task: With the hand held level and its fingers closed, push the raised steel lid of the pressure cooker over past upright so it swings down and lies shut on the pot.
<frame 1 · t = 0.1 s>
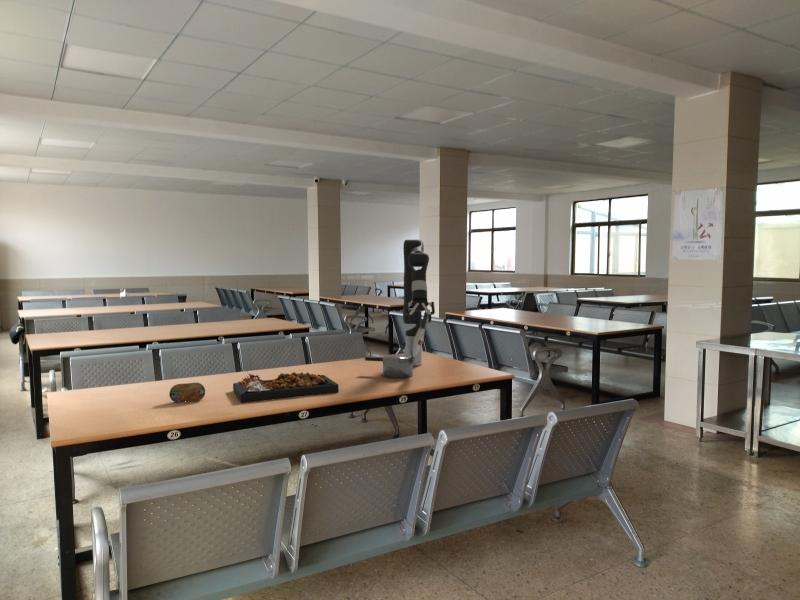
hand: (420, 322, 280), 31 cm above the table, fingers open, 8 cm apart
food platter: (285, 393, 274), on the table
cooker pot: (397, 375, 309), on the table
tin: (188, 402, 258), on the table
cooker lid: (421, 334, 303), point 23 cm above the table, hinge at 105.0°
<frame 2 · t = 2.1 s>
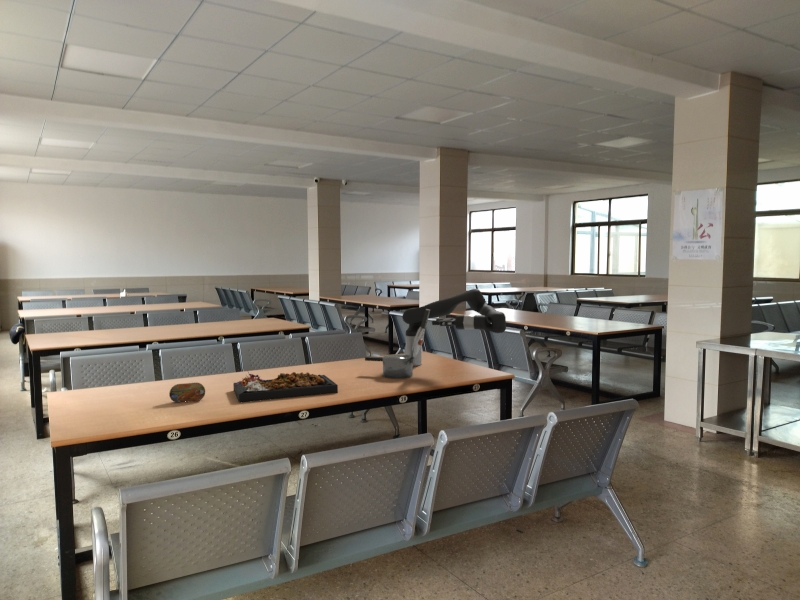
hand: (434, 321, 294), 30 cm above the table, fingers open, 8 cm apart
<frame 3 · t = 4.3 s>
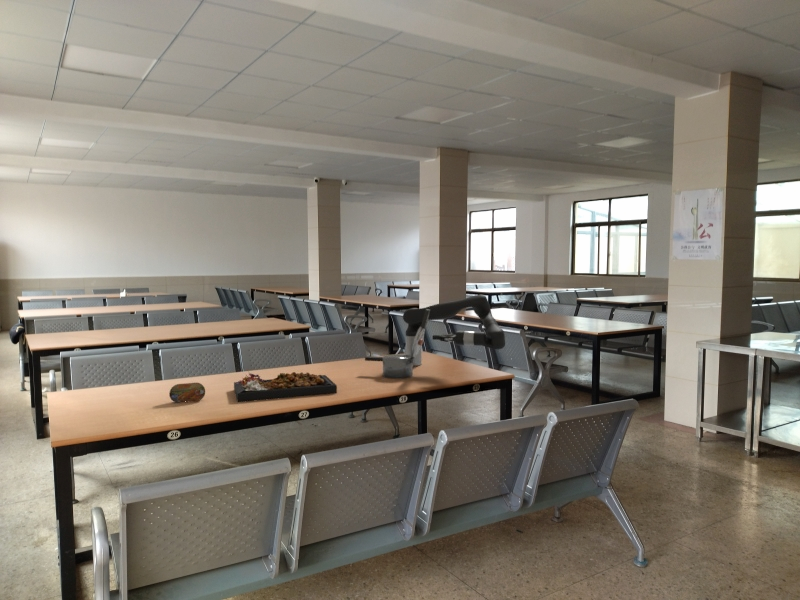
hand: (432, 337, 301), 21 cm above the table, fingers closed
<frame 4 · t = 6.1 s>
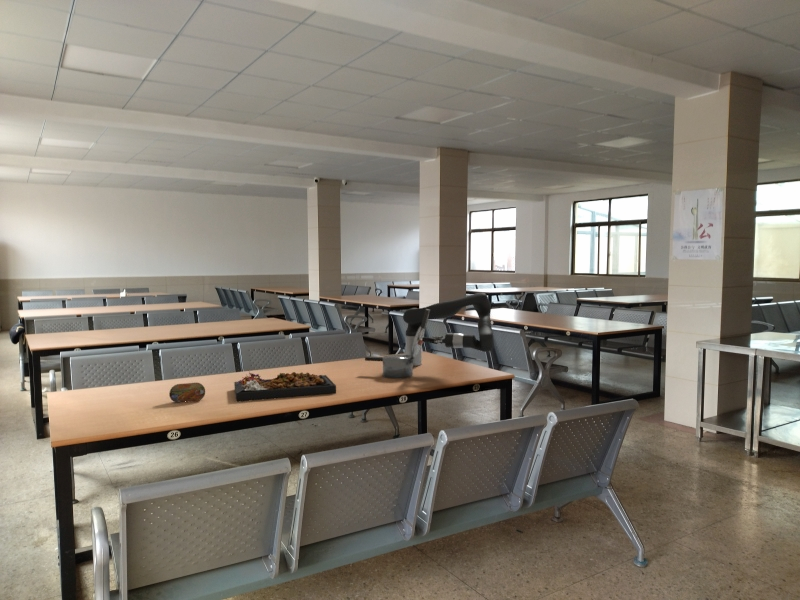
hand: (422, 339, 303), 20 cm above the table, fingers closed
cooker lid: (421, 334, 303), point 23 cm above the table, hinge at 104.7°, touching gripper
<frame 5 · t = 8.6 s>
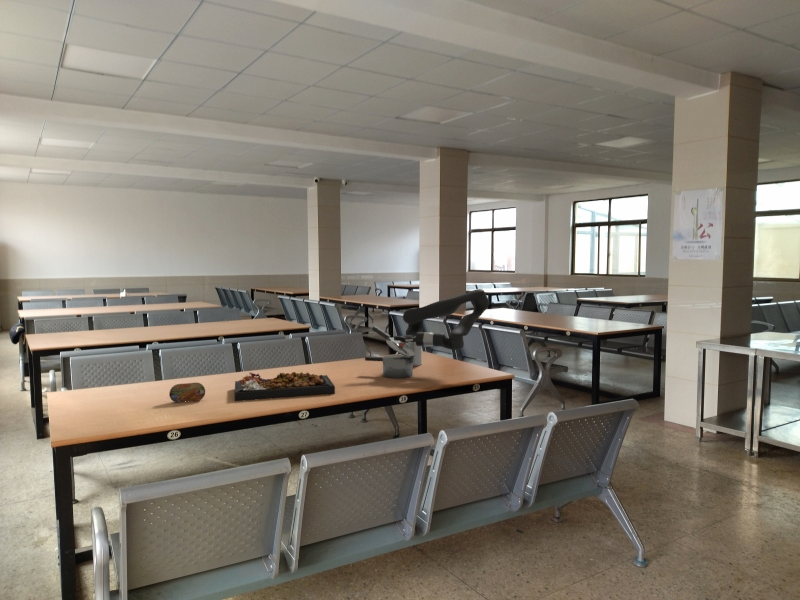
hand: (394, 338, 308), 20 cm above the table, fingers closed
cooker lid: (393, 341, 308), point 18 cm above the table, hinge at 31.3°
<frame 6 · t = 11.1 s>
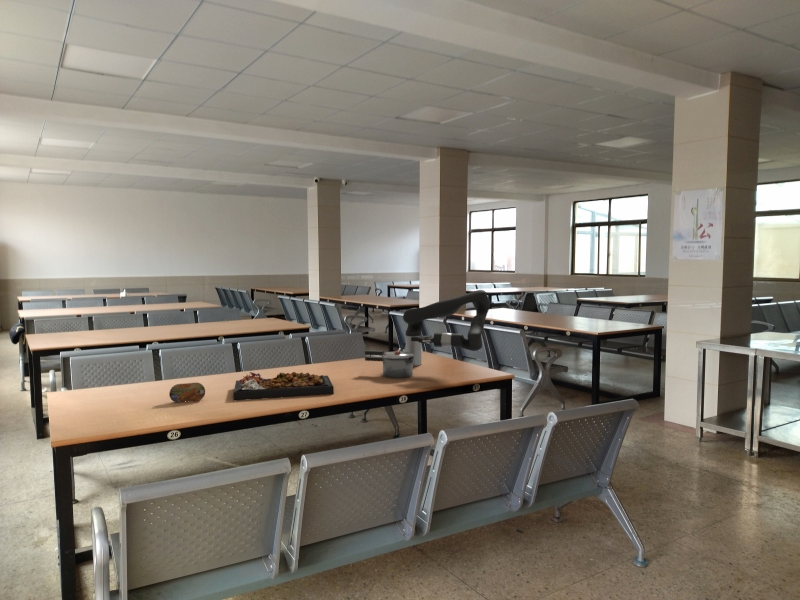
hand: (411, 338, 305), 20 cm above the table, fingers closed
cooker lid: (389, 353, 309), point 12 cm above the table, hinge at -0.2°
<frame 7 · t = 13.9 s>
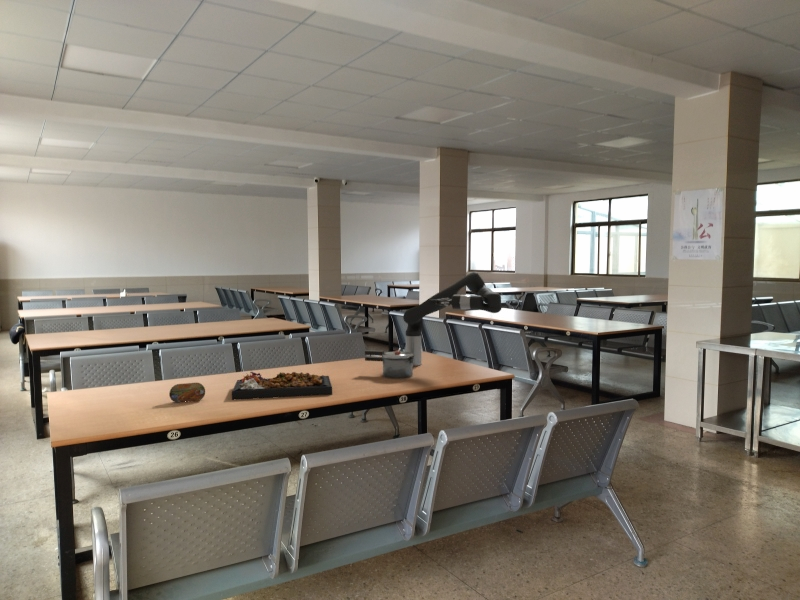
hand: (429, 301, 301), 40 cm above the table, fingers closed
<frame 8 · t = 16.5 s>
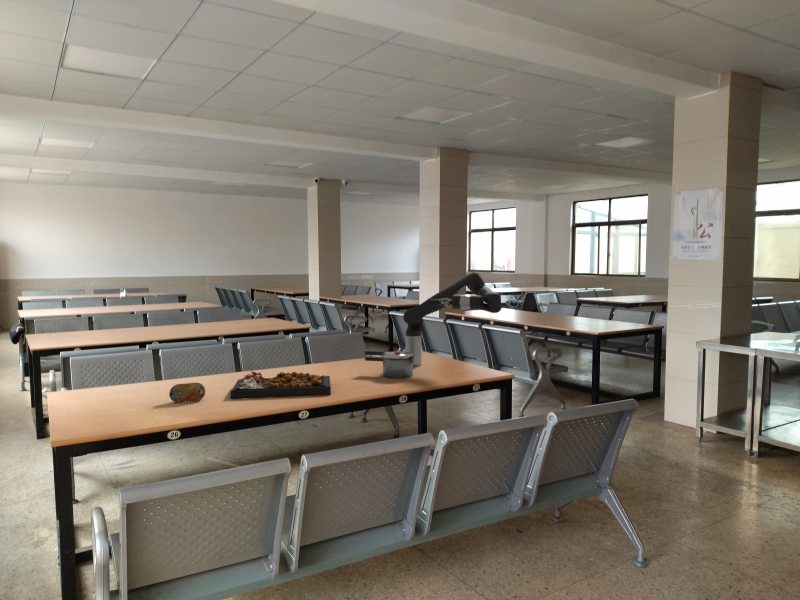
hand: (429, 301, 301), 40 cm above the table, fingers closed
at the end: cooker lid at +0° (first picture: +105°) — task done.
